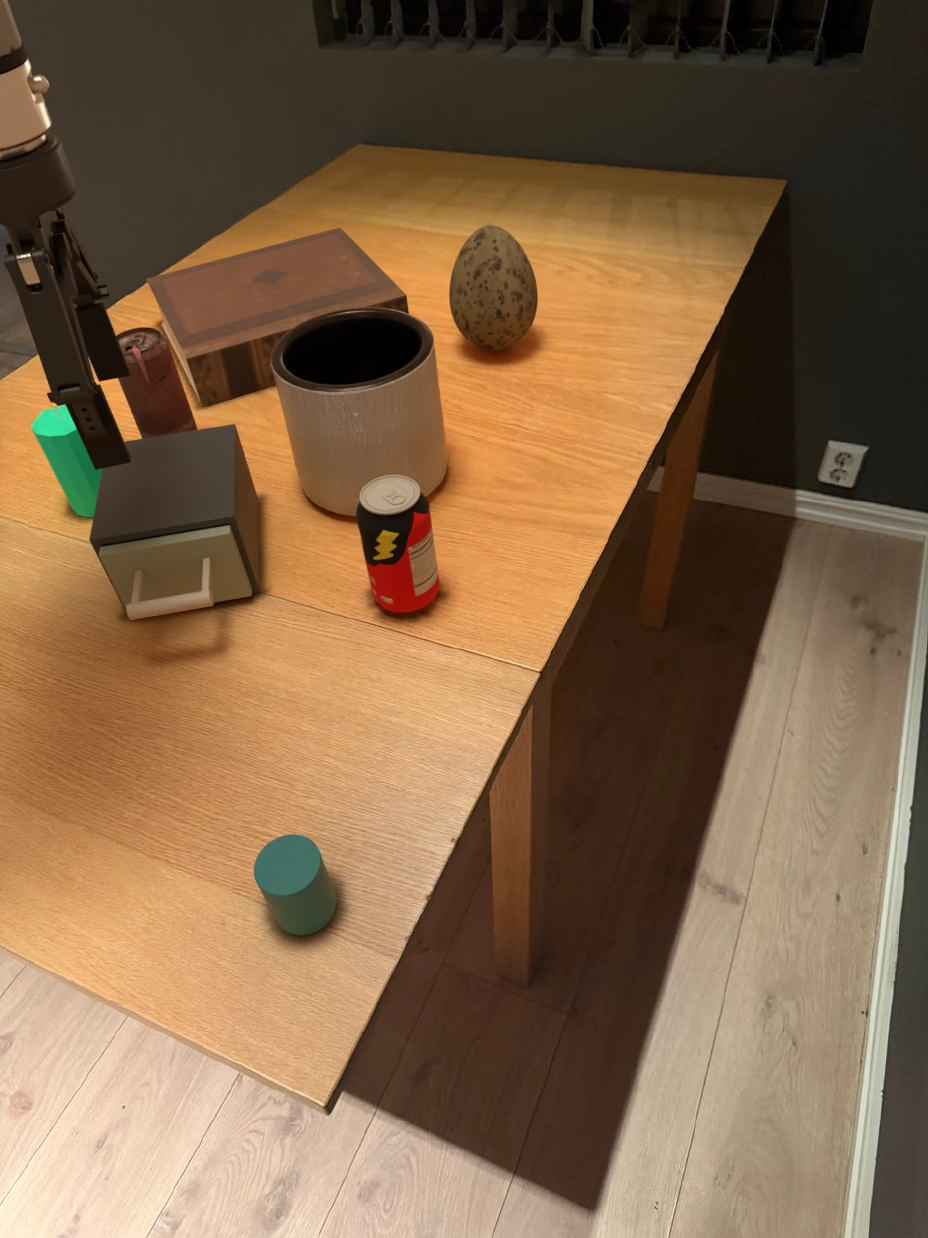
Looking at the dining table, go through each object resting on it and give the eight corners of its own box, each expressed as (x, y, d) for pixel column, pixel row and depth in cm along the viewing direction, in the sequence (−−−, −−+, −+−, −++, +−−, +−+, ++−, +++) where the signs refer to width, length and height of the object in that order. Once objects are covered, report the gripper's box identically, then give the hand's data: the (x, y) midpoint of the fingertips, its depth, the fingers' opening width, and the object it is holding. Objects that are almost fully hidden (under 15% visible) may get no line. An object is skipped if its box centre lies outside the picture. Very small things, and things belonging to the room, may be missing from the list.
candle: (135, 482, 98) (95, 387, 89) (115, 517, 94) (70, 421, 85) (85, 482, 99) (39, 388, 90) (62, 517, 95) (13, 422, 86)
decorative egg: (470, 320, 118) (462, 205, 107) (548, 329, 114) (548, 211, 104) (441, 362, 111) (429, 243, 100) (523, 373, 108) (520, 251, 97)
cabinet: (260, 593, 84) (234, 515, 77) (127, 616, 83) (88, 539, 76) (258, 499, 94) (235, 423, 87) (139, 519, 93) (106, 444, 86)
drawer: (252, 640, 79) (229, 577, 73) (123, 663, 78) (90, 601, 72) (250, 507, 92) (231, 445, 86) (140, 525, 91) (113, 464, 86)
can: (158, 473, 99) (113, 361, 89) (143, 446, 103) (99, 335, 93) (210, 455, 100) (171, 343, 90) (193, 428, 104) (155, 318, 94)
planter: (469, 443, 98) (458, 313, 87) (416, 535, 88) (396, 401, 77) (340, 424, 103) (314, 297, 92) (275, 509, 93) (237, 379, 82)
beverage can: (410, 562, 86) (394, 461, 77) (454, 593, 82) (442, 491, 74) (359, 596, 83) (337, 495, 74) (403, 629, 79) (384, 528, 71)
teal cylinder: (275, 941, 60) (253, 902, 56) (273, 883, 63) (253, 841, 59) (339, 929, 60) (322, 888, 56) (334, 871, 64) (318, 828, 59)
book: (412, 342, 115) (406, 294, 110) (202, 407, 108) (186, 358, 103) (347, 271, 130) (340, 227, 126) (161, 323, 123) (145, 278, 119)
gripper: (45, 201, 50) (163, 495, 65) (65, 81, 67) (155, 338, 82) (-93, 224, 49) (60, 518, 64) (-38, 97, 66) (73, 354, 81)
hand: (114, 417), depth 73 cm, fingers open, 13 cm apart
